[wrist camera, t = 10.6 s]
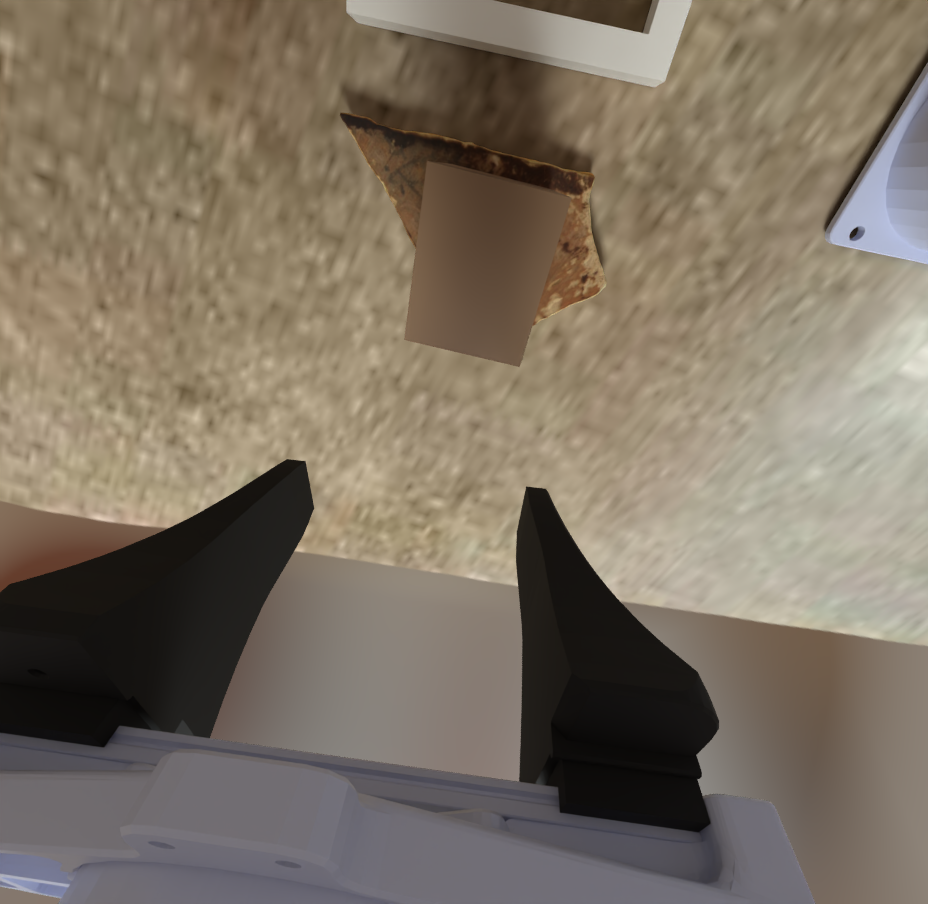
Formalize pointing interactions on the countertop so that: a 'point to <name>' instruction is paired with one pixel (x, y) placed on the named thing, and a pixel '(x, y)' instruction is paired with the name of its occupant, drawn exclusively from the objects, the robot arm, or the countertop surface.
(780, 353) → the countertop surface
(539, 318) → the shard
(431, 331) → the walnut block
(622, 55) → the white flat square frame
